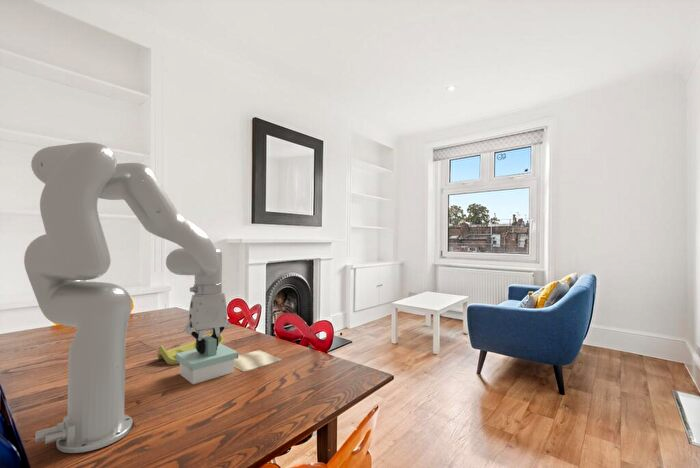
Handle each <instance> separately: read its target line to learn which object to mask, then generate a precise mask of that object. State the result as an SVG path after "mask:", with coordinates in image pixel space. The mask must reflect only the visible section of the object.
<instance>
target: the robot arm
mask: <svg viewBox="0 0 700 468" xmlns="http://www.w3.org/2000/svg"><path fill="white" fill-rule="evenodd" d="M30 164H31V165H30V166H31V171H32V172H33V174H34V176H35V177H36V178H37V179H38V180H39V181H41V182H42V183H43V184H44V187H43V189H42V191H41V195H40V200H39V209H40V210H39V211H40V217H41V220H42V223H43V228H44V232H45V234H43V235H42V234H41V235H40V236H38V237H36V238H35V239H33V240H32V241H31V242H30V243H29V244H28V246H27V248H26V250H25V252H24V258H23V264H24V269H25V271H26V275H27V278H28V281H29V283H30V286H31V289H32V291H33V293H34V296H35V298H36V301H37V304H38V307H39V309H40V311H41V312H42V315H44V317H45V318H46V319H47V320H48V321H50V322H51V323H54V324H56V325H61V326H65V327H74V328H76V331H75V333H74V336H73V338H72V341H71V343H70V346H69V348H68V358H67V359H68V360H67V365H68V366H67V367H68V369H67V370H68V375H67V379H68V380H67V414H66V416H63V421H62V422H59V423H57V424H56V425H55V426H51V427H49V428H48V427H47V428H44V429H43V428H42V429H40V430H36V431H35V443H39V442H42V441H44V443H45V445H47V444H50V443H54V442H55V441H56V448H57V450H58V451H60V452H62V453H66V454H78V453H80V454H82V453H86V452H91V451H94V450H99V449H102V448H104V447H106V446H107V447H108V446H109V445H112V444H114V443H116V442H117V441H119V440H121V439H123V438H124V437H125V436H126V435H127V434H128V433H130V431H131V430H132V429H133V418H132V417H131V416H129V415H128V414H125V397H126V396H125V394H126V393H125V390H126V389H125V388H126V387H125V386H126V384H125V383H126V341H127V340H126V339H127V332H128V331H127V330H128V326H129V320H130V317H131V313H132V306H133V305H132V304H133V302H132V298H131V295H130V294H129V292H128V290H126V289H125V288H123V287H122V286H121V285H118V284H115V283H110V282H102V281H101V282H99V281H91V280H94V279H95V280H96V279H97V278H100V277H102V276H103V275H105V274H106V273H107V272H108V270H109V269H110V266H111V260H112V259H111V255H110V251H109V246H108V243H107V240H106V237H105V234H104V229H103V227H102V224H101V220H100V216H99V211H98V201H99V199H102V200H108V201H116V200H117V201H118V200H119V201H121V200H122V201H124V202H125V203H126V204H127V206H128V207H129V208H130V210H131V211H132V212H133V214H134V215H135V216H136V218H137V220H138V221H139V222H140V224H141V225H142V227H143V228H144V229H145V230H146V232H149V233H150V234H152V235H155V236H156V237H159V238H161V239H164V240H167V241H170V242H172V243H174V244H176V245H178V246H179V247H180V248H177V249H174V250H172V251H171V252H170V253H169V254H167V256H166V259H165V267H166V268H167V269H168V270H169V272H171V273H173V274H174V275H179V276H193V277H194V284H193V286H192V287H189V292H190V293H193V294H192V296H191V299H190V305H189V309H188V322H187V324H186V325H185V327H184V329H183V333H184V334H187V335H190V336H191V337H193V338H194V339H195V342H196V350H197V351H198V352H199V353H201V354H203V353H204V340H203V338H202V337H203V335H204V331H205V330H211V331H212V335H211V337H213V338H215V339H217V346H218V337H219V336H220V334H222V333H223V331H224V329H226V328H227V327H229V326H230V324H231V323H230V321H229V320H228V309H227V308H228V307H227V300H226V295H225V293H224V292H223V291H222V290H223V289H222V287H223V286H222V283H223V281H222V280H223V252H222V250H221V249H219V248H216V247H215V245H214V243H213V242H212V240H211V238H210V237H209V236H208V235H207V233H206V232H204V230H202V229H201V228H200V227H198V225H196V224H194V223H193V222H192V221H190V220H189V219H188V218H187V217H185V216H183V215H182V214H181V213H179V211H178V210H177V208H176V206H175V204H174V203H173V202H172V201H171V200H172V199H170V197H169V195H168V194H167V192H166V191H165V189H164V187H163V185H162V184H161V182H160V181H159V179H158V177H157V176H156V174H155V172H154V171H153V170H152V168H150V167H149V166H147V165H146V164H144V163H139V162H125V163H124V162H122V163H120V162H119V163H117V159H116V155H115V153H114V152H113V150H112V149H111V148H110V147H107V145H105V144H102V143H98V142H89V141H88V142H75V143H68V144H62V145H60V144H58V145H51V146H47V147H44V148H42V149H40V150H38V151H37V152H36V153H35V154H34V155H33V156H32V159H31V163H30ZM88 280H89V281H88ZM192 329H193V330H192ZM216 350H217V349H216Z"/></svg>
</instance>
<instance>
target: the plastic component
mask: <svg viewBox="0 0 700 468" xmlns="http://www.w3.org/2000/svg"><path fill="white" fill-rule="evenodd" d="M205 335H208V336H210V337H211V335H212V330H211V331H210V332H209V333H206V334H205ZM223 342H224V336H223V335H222V333H221V334H220V336H219V337H218V344H220V343H221V344H223ZM194 349H196V341H192V342H190V343H187V344H183V345H180V346H177V347H175V348H171V349H168V350H166V348H165V346H164V345H163V344H162V345H159V346H158V350H157V353H156V357H157V359H159V360H164V361H165V362H166V364H167V365H180V363H179V362H178V361H177V360H175V356H176V353H180V352H185V351H189V350H194Z"/></svg>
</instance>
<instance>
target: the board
mask: <svg viewBox="0 0 700 468" xmlns="http://www.w3.org/2000/svg"><path fill="white" fill-rule="evenodd" d="M282 361H283V359H281V358H279V357H277V356H275V355H272V354H270V353H268V352H265V351H263V350H261V349H258V350H254V351H249V352H246V353H242V354H238V358H237V359H234V369H237V370H238V371H240V372H241V373H246V372H248V371H253V370H256V369H259V368H262V367H266V366H269V365H273V364H275V363H276V364H277V363H279V362H282Z"/></svg>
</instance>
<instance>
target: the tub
mask: <svg viewBox="0 0 700 468" xmlns="http://www.w3.org/2000/svg"><path fill="white" fill-rule="evenodd" d="M232 373H235V367H234V359H233V360H230V361H226V362H222V363H218V364H215V365H211V366H207V367H204V368H200V369H196V370H192V371H191V370H189V369H188V368H186V367H185V366H184V365H182V364H181V363H179V375H180V376H182V377H183V378H184V379H185V380H186V381H188V382H189V383H190V384H192V385H196V384H199V383H202V382H206V381H209V380H213V379H216V378H219V377H222V376H226V375H229V374H232Z"/></svg>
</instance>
